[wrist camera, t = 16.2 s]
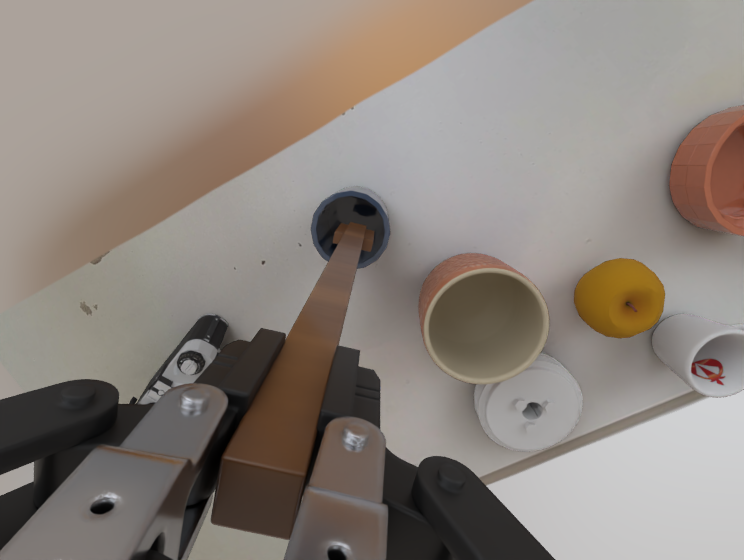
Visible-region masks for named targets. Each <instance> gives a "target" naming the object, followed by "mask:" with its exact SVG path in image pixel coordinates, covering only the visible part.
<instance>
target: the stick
mask: <svg viewBox="0 0 744 560" xmlns="http://www.w3.org/2000/svg"><path fill="white" fill-rule="evenodd" d="M366 227H367V226H365V225H361V224H357V223H353V222H350V223H349V225H347V224H343V223H341V224H340V225H339V227H338V228H337V229H336V231H335V234H334V238H333V243H335V244H338V245H337V247H336V249H335V250H334V252H333V254H332V256H331V258H330V260H329V261H328V263H327V265H326V267H325V269H324V271H323V272H322V274H321V276H320V278H319V280H318V281H317V283H316V285H315V287H314V289H313V291H312V292H311V294H310V296H309V298H308V300H307V301H306V303H305V305H304V307H303V309H302V311H301V312H300V314H299V316H298V318H297V320H296V321H295V323H294V325H293V327H292V329H291V331H290V332H289V334H288V336H287V338H286V340H285V343H284V344H283V346H282V348H281V350H280V352H279V354H278V355H277V357H276V359H275V361H274V363H273V365H272V366H271V368H270V370H269V372H268V374H267V376H266V377H265V379H264V381H263V383H262V385H261V386H260V388H259V390H258V392H257V394H256V396H255V397H254V399H253V401H252V403H251V405H250V407H249V408H248V410H247V412H246V414H245V415H244V416H243V418H242V420H241V422H240V423H239V425H238V427H237V429H236V431H235V432H234V434H233V436H232V438H231V440H230V442H229V443H228V445H227V447H226V449H225V451H224V453H223V454H222V456H221V460H220V466H219V473H218V479H217V485H216V491H215V497H214V503H213V509H212V515H211V523H212V524H214V525H218V526H223V527H228V528H232V529H237V530H242V531H247V532H252V533H257V534H261V535H266V536H271V537H276V538H281V539H286V540H290V537H291V534H292V531H293V528H294V524H295V521H296V518H297V515H298V511H299V508H300V505H301V501H302V497H303V492H304V488H305V484H306V480H307V475H308V471H309V467H310V463H311V458H312V454H313V450H314V445H315V441H316V437H317V433H318V432H317V429H316V428H317V424H318V419H319V415H320V411H321V407H322V403H323V399H324V395H325V391H326V387H327V383H328V379H329V375H330V371H331V367H332V363H333V359H334V355H335V351H336V347H337V345H339V341H340V337H341V333H342V328H343V324H344V320H345V316H346V312H347V307H348V303H349V299H350V295H351V291H352V286H353V282H354V278H355V274H356V270H357V265H358V261H359V257H360V253H361V250H364V251H369V252H371V249H372V245H373V240H374V231H372V230H368V229H366Z"/></svg>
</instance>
